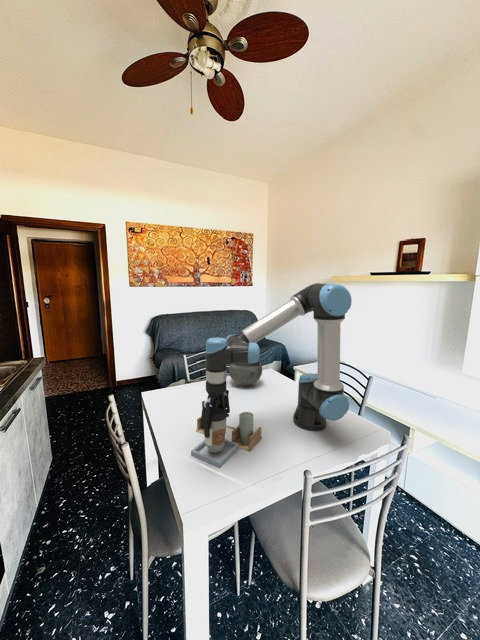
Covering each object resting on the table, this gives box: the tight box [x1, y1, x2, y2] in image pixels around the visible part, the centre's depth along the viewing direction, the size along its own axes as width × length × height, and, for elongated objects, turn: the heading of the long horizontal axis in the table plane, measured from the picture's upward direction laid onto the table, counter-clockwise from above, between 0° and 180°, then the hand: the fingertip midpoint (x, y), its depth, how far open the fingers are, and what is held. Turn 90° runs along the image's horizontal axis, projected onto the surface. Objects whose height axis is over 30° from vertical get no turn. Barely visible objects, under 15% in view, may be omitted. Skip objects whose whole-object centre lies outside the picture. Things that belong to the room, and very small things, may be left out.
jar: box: [238, 411, 254, 445], centre depth 106 cm, size 6×6×11 cm
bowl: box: [228, 360, 263, 387], centre depth 167 cm, size 21×21×15 cm
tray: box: [190, 438, 240, 469], centre depth 100 cm, size 13×13×2 cm
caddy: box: [195, 416, 263, 453], centre depth 111 cm, size 26×11×6 cm, turn 60°
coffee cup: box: [206, 406, 228, 453], centre depth 99 cm, size 8×8×15 cm
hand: (215, 438), depth 99 cm, fingers closed on coffee cup, 8 cm apart
